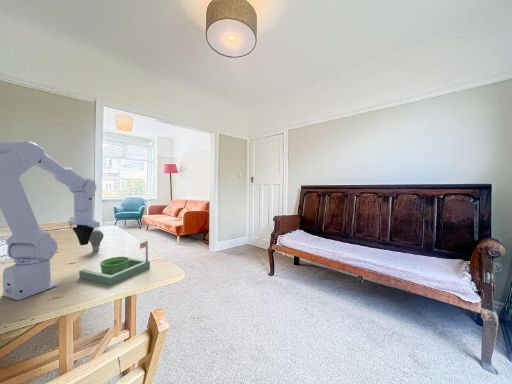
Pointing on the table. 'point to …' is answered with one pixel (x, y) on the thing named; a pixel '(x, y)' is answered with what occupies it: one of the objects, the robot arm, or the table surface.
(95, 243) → the light bulb
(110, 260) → the ramekin
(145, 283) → the table surface
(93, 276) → the green tray with flag
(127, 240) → the table surface
